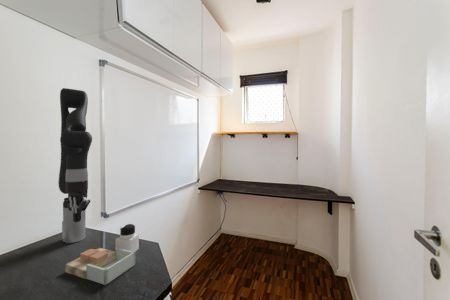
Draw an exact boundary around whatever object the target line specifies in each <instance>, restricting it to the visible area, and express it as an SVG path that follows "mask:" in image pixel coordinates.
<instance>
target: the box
mask: <svg viewBox="0 0 450 300" xmlns="http://www.w3.org/2000/svg"><path fill="white" fill-rule="evenodd" d="M135 265H136V252H133V251H129V250H125V249H121V248H117V249H116V260H115V261H113V262H111V263H110V264H108V265H106V266H105V267H103V268H101V267H98V266H95V265H91V264H87V265H86V279H85V280H89V281H93V282H96V283H98V284H102V285H103V286H106V285H107V284H110V283H111V282H112V281H113V280H115V279H116V278H118V277H120V275H122V274H124V273H125V272H127V271H128V270H129V269H131V268H132V267H134V266H135Z"/></svg>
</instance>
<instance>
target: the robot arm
mask: <svg viewBox="0 0 450 300" xmlns="http://www.w3.org/2000/svg"><path fill="white" fill-rule="evenodd" d="M88 100H89V99H88V93H87V92H86V91H84V90H80V89H73V88H67V87H66V88H65V87H62V88H61V89H60V92H59V102H60V118H61V119H60V121H61V122H60V123H61V125H60V127H61V128H60V139H59V141H60V166H59V173H58V189H59V191H60V192H61V193H62V194H64V195H67V197H65V198H64V199H63V201H62V221H61V237H62V238H61V240H62V239H63V240H62V242H63V243H64V242H65V244H73V243H77V242H81V241H83V240H84V239H85V238H86V209H87V208H88V207H89V205H90V203H91V199H88V191H89V190H88V189H89V173H88V154H89V151H90V148H91V145H92V142H93V137H92V134H91V132H89V131H87V123H86V119H87V112H88V105H89V103H88V102H89V101H88ZM69 109H73V110H72V111H71V112H70V110H69Z"/></svg>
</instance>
